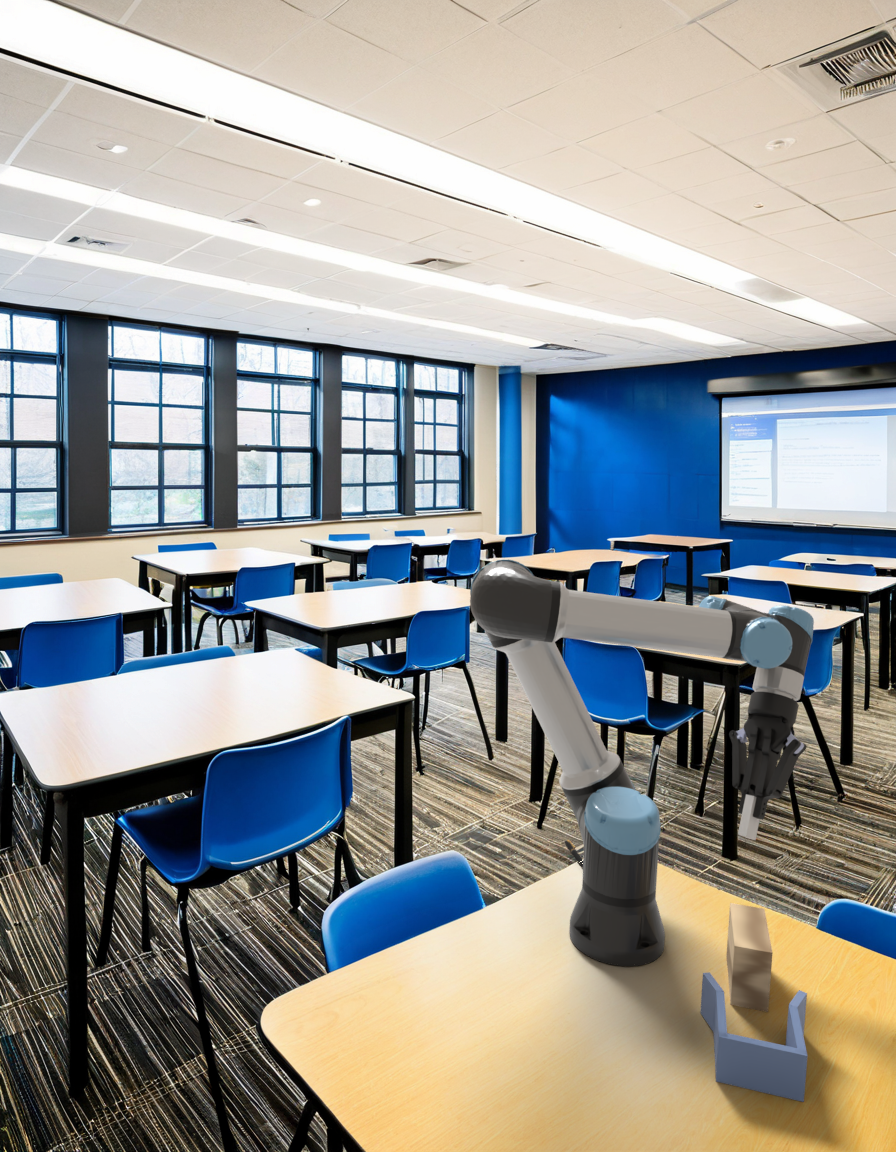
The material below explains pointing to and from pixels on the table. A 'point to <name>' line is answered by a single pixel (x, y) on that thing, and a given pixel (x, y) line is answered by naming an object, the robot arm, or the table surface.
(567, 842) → the fountain pen
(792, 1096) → the blue u-shaped bracket
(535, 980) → the table surface
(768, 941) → the block
